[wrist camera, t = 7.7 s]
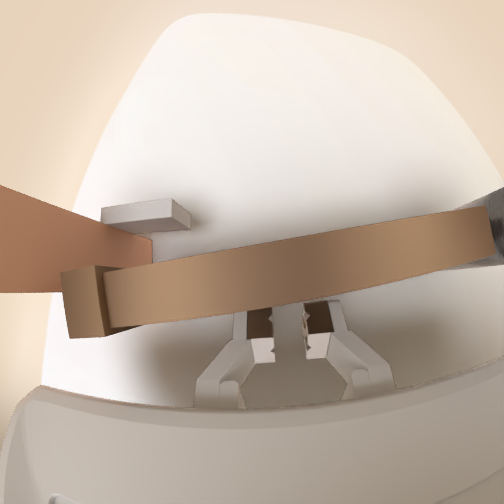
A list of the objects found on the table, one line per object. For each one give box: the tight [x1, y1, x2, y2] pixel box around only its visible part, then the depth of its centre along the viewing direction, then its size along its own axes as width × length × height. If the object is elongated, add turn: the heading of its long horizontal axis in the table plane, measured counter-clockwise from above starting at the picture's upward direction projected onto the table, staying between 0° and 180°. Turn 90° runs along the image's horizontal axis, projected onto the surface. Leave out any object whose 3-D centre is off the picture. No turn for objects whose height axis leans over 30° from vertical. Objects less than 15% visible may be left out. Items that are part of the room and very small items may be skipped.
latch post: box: [0, 185, 191, 293], centre depth 11 cm, size 5×4×12 cm
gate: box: [60, 205, 496, 339], centre depth 11 cm, size 14×2×9 cm, turn 100°
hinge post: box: [441, 187, 504, 271], centre depth 9 cm, size 3×3×14 cm
